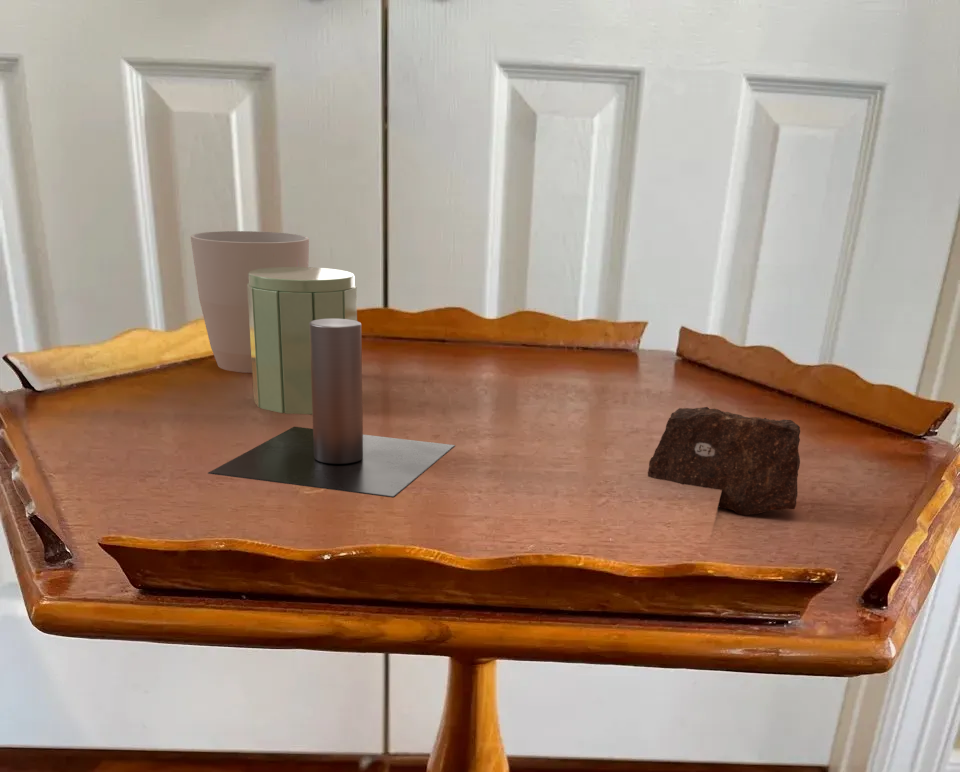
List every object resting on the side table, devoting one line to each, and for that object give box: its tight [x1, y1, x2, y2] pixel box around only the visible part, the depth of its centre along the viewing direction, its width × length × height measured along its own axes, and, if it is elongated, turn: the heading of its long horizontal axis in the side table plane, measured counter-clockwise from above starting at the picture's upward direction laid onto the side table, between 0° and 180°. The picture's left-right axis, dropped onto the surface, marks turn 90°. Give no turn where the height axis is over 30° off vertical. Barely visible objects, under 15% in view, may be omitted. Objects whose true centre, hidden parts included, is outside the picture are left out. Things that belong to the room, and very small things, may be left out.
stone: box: [647, 406, 801, 516], centre depth 53 cm, size 8×3×5 cm, turn 65°
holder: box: [207, 319, 456, 498], centre depth 53 cm, size 10×10×8 cm
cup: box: [189, 230, 310, 374], centre depth 74 cm, size 8×8×10 cm
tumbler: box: [247, 266, 358, 415], centre depth 64 cm, size 6×7×9 cm
